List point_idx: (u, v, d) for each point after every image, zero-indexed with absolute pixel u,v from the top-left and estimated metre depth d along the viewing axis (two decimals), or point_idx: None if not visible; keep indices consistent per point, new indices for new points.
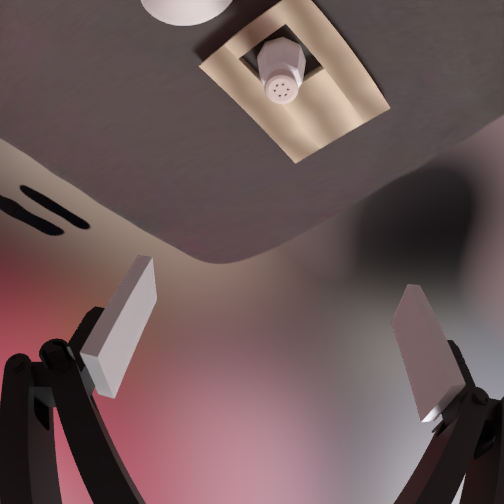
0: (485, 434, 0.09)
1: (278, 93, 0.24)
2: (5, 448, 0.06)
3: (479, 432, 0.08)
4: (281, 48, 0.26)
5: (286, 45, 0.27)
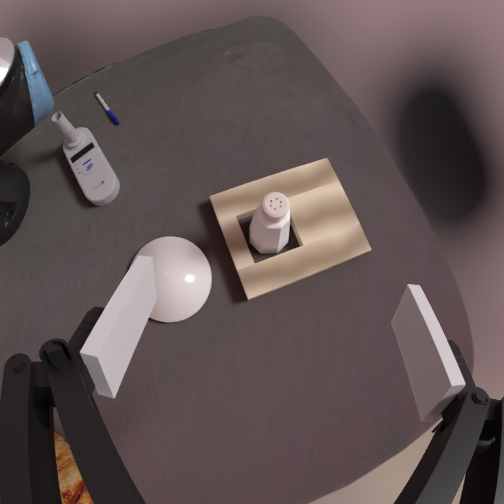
0: (485, 434, 0.09)
1: (278, 206, 0.31)
2: (5, 448, 0.06)
3: (479, 432, 0.08)
4: (253, 218, 0.38)
5: None
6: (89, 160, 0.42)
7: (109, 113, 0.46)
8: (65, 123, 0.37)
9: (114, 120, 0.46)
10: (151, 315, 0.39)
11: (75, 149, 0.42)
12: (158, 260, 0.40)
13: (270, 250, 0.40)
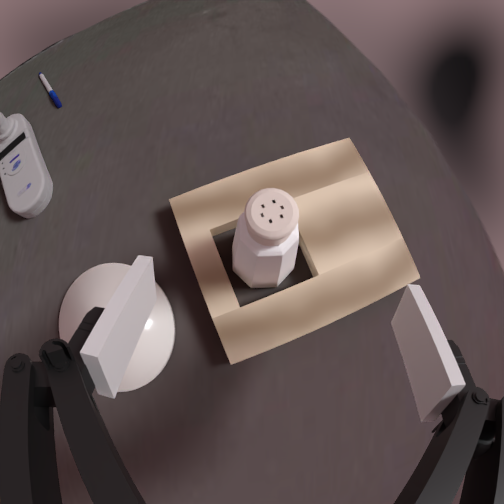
0: (485, 434, 0.09)
1: (277, 217, 0.16)
2: (5, 448, 0.06)
3: (479, 432, 0.08)
4: None
5: None
6: (18, 156, 0.27)
7: (51, 94, 0.31)
8: None
9: (55, 102, 0.31)
10: None
11: (4, 142, 0.27)
12: (97, 299, 0.25)
13: (265, 284, 0.25)
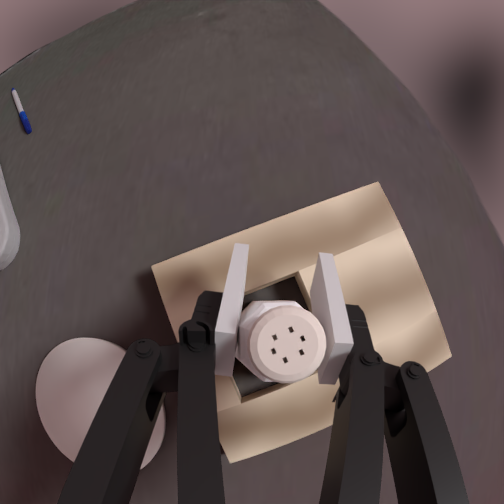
0: (386, 403, 0.11)
1: (295, 353, 0.11)
2: (99, 429, 0.08)
3: (382, 394, 0.10)
4: None
5: None
6: None
7: (21, 116, 0.26)
8: None
9: (25, 126, 0.25)
10: None
11: None
12: (74, 378, 0.20)
13: None
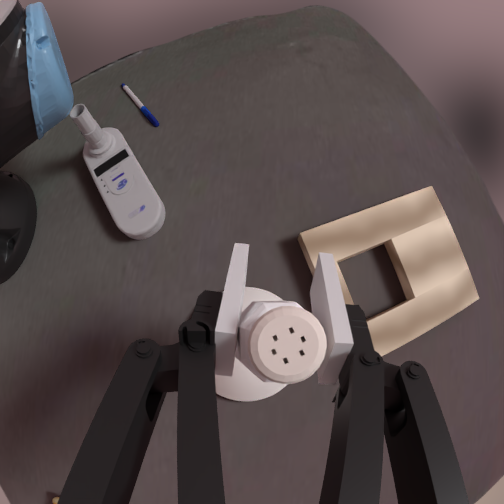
0: (387, 403, 0.11)
1: (295, 354, 0.11)
2: (99, 429, 0.08)
3: (382, 394, 0.10)
4: None
5: None
6: (122, 174, 0.32)
7: (144, 111, 0.36)
8: (89, 121, 0.27)
9: (152, 120, 0.36)
10: (223, 393, 0.28)
11: (101, 157, 0.32)
12: None
13: None
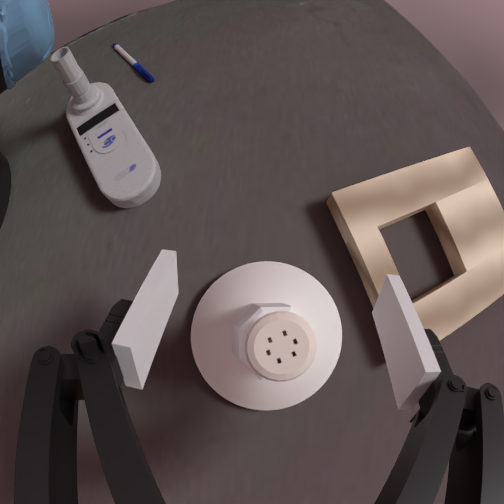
0: (464, 423, 0.10)
1: (288, 355, 0.12)
2: (25, 440, 0.06)
3: (458, 420, 0.08)
4: (234, 328, 0.18)
5: (237, 320, 0.20)
6: (110, 131, 0.25)
7: (137, 67, 0.29)
8: (73, 66, 0.20)
9: (146, 75, 0.29)
10: (239, 401, 0.21)
11: (86, 113, 0.25)
12: (247, 305, 0.23)
13: None
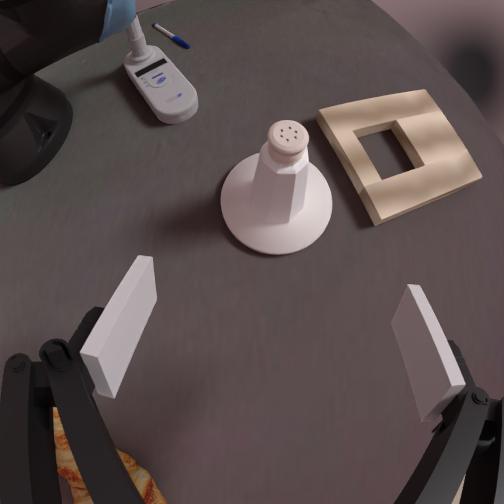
0: (485, 434, 0.09)
1: (292, 137, 0.21)
2: (5, 448, 0.06)
3: (479, 432, 0.08)
4: (256, 170, 0.27)
5: None
6: (161, 74, 0.34)
7: (176, 38, 0.38)
8: (138, 28, 0.29)
9: (183, 43, 0.38)
10: (256, 245, 0.30)
11: (141, 64, 0.34)
12: None
13: (279, 217, 0.29)
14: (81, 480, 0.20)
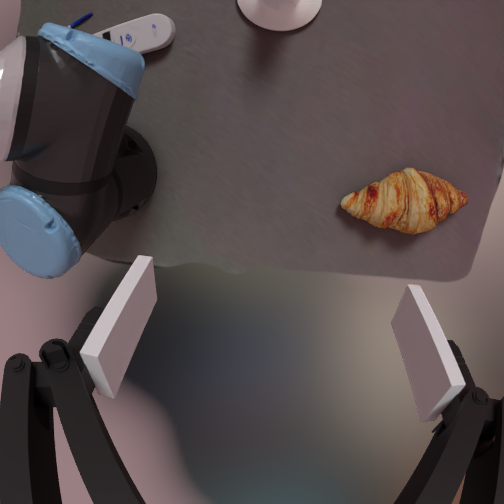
0: (485, 434, 0.09)
1: None
2: (5, 448, 0.06)
3: (479, 432, 0.08)
4: None
5: None
6: (121, 36, 0.33)
7: (75, 23, 0.33)
8: None
9: (86, 17, 0.33)
10: (305, 21, 0.33)
11: None
12: None
13: None
14: (397, 210, 0.41)
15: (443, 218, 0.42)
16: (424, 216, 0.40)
